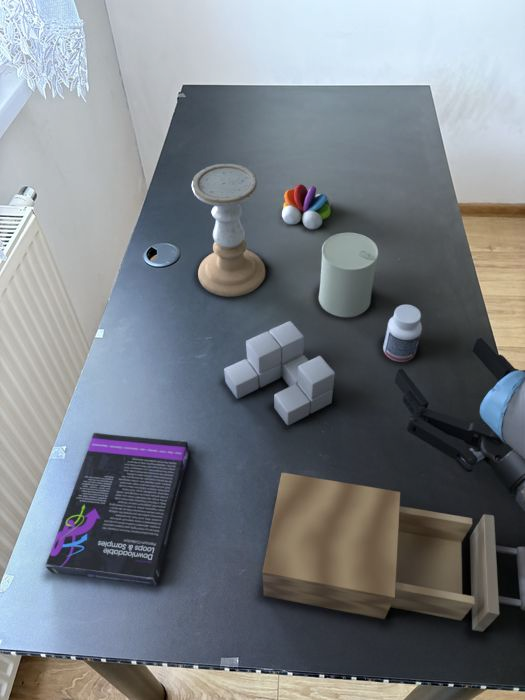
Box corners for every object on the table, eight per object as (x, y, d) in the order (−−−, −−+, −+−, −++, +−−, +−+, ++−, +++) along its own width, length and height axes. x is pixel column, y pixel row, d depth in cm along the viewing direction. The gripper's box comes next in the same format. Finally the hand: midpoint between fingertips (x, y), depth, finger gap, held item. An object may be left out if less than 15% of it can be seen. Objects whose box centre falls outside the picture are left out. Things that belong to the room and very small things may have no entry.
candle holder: (279, 277, 109) (279, 183, 94) (225, 309, 104) (215, 215, 89) (238, 244, 115) (232, 150, 100) (185, 272, 111) (170, 178, 95)
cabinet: (390, 521, 79) (400, 491, 72) (384, 620, 71) (395, 597, 64) (281, 502, 81) (281, 472, 74) (263, 597, 73) (262, 572, 66)
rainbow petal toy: (291, 200, 124) (291, 169, 118) (335, 210, 121) (338, 180, 116) (276, 224, 119) (276, 193, 113) (322, 235, 116) (324, 205, 111)
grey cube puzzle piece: (225, 383, 94) (221, 351, 88) (289, 352, 98) (290, 320, 92) (264, 440, 87) (263, 409, 81) (331, 404, 91) (335, 372, 85)
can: (357, 326, 101) (365, 274, 92) (309, 308, 104) (311, 255, 95) (378, 293, 106) (388, 240, 97) (331, 276, 109) (336, 223, 100)
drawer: (517, 544, 76) (535, 522, 70) (525, 640, 68) (545, 623, 63) (373, 519, 78) (379, 496, 73) (365, 609, 71) (372, 590, 66)
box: (99, 443, 88) (50, 575, 75) (93, 430, 85) (41, 564, 73) (191, 453, 86) (157, 589, 74) (188, 440, 84) (152, 579, 71)
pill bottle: (418, 362, 96) (429, 325, 89) (386, 364, 96) (394, 327, 89) (411, 337, 99) (420, 300, 92) (379, 339, 99) (387, 302, 92)
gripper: (447, 532, 74) (360, 404, 86) (602, 457, 80) (500, 348, 93) (462, 505, 68) (366, 372, 81) (628, 427, 74) (515, 315, 87)
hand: (438, 359), depth 87 cm, fingers open, 13 cm apart
